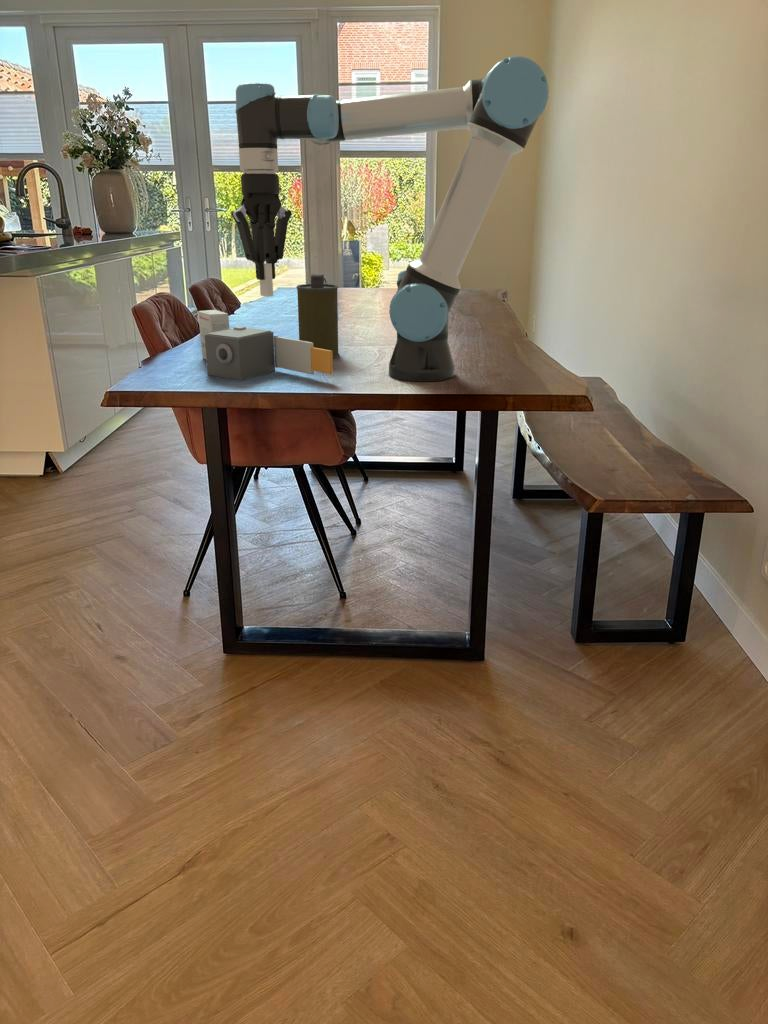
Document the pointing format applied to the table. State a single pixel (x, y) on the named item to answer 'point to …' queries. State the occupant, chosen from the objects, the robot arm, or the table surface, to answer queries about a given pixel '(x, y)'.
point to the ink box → (211, 324)
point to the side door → (301, 356)
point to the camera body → (240, 352)
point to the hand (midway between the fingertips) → (266, 295)
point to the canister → (318, 314)
